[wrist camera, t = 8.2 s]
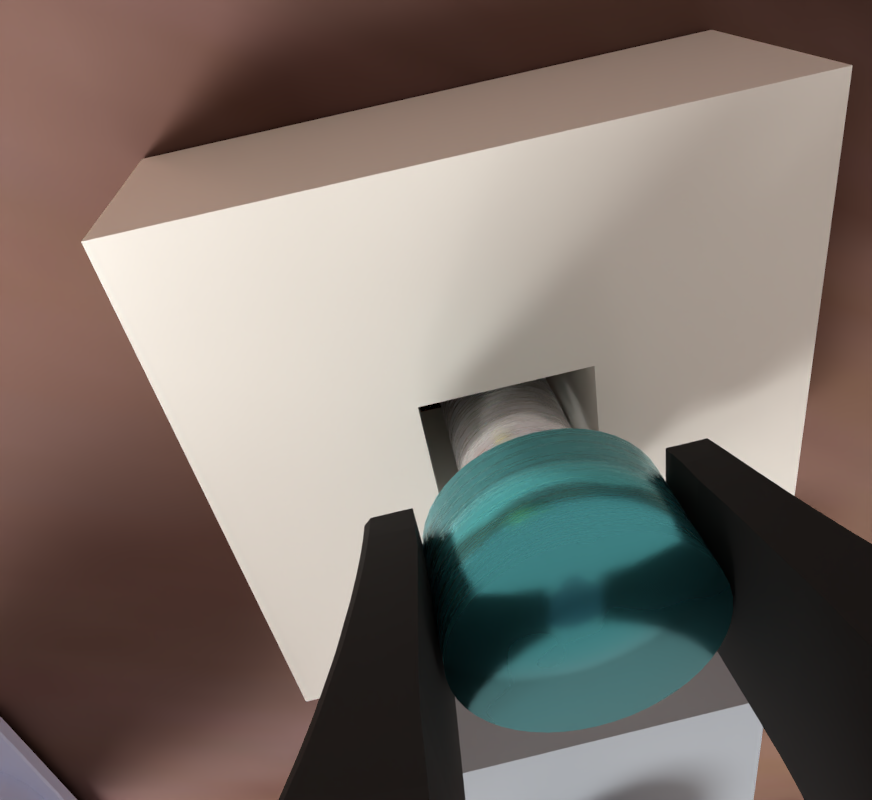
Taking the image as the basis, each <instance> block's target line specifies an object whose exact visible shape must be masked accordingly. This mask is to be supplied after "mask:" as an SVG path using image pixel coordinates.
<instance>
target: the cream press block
mask: <svg viewBox="0 0 872 800" xmlns="http://www.w3.org/2000/svg"><path fill="white" fill-rule="evenodd" d="M852 66H853V65H850V64H846V63H842V62H838V61H834V60H830V59H826V58H822V57H818V56H814V55H810V54H806V53H802V52H798V51H794V50H790V49H786V48H782V47H778V46H774V45H770V44H766V43H763V42H759V41H755V40H751V39H747V38H743V37H739V36H735V35H731V34H727V33H723V32H719V31H715V30H708V31H704V32H699V33H695V34H690V35H686V36H682V37H677V38H673V39H668V40H664V41H660V42H655V43H651V44H646V45H642V46H638V47H633V48H629V49H624V50H620V51H616V52H611V53H607V54H602V55H598V56H594V57H589V58H585V59H580V60H576V61H572V62H567V63H563V64H558V65H554V66H550V67H545V68H541V69H536V70H532V71H528V72H523V73H519V74H514V75H510V76H506V77H501V78H497V79H492V80H488V81H483V82H479V83H475V84H470V85H466V86H461V87H457V88H453V89H448V90H444V91H439V92H435V93H431V94H426V95H422V96H417V97H413V98H409V99H404V100H400V101H395V102H391V103H387V104H382V105H378V106H373V107H369V108H365V109H360V110H356V111H351V112H347V113H343V114H338V115H334V116H329V117H325V118H321V119H316V120H312V121H307V122H303V123H299V124H294V125H290V126H285V127H281V128H276V129H272V130H268V131H263V132H259V133H254V134H250V135H246V136H241V137H237V138H232V139H228V140H224V141H219V142H215V143H210V144H206V145H202V146H197V147H193V148H188V149H184V150H180V151H175V152H171V153H166V154H162V155H158V156H153V157H149V158H144V159H142V160H141V161H140V163H139V164H138V165H137V167H136V168H135V169H134V171H133V172H132V173H131V175H130V176H129V178H128V179H127V180H126V182H125V183H124V184H123V186H122V187H121V188H120V190H119V191H118V192H117V194H116V195H115V197H114V198H113V199H112V201H111V202H110V203H109V205H108V206H107V207H106V209H105V210H104V211H103V213H102V214H101V216H100V217H99V218H98V220H97V221H96V222H95V224H94V225H93V226H92V228H91V229H90V230H89V232H88V233H87V235H86V236H85V237H84V239H83V240H82V241H81V242H82V245H83V247H84V249H85V251H86V253H87V255H88V257H89V259H90V261H91V263H92V265H93V267H94V269H95V271H96V273H97V275H98V277H99V279H100V281H101V283H102V285H103V287H104V290H105V292H106V294H107V296H108V298H109V300H110V302H111V304H112V306H113V308H114V310H115V312H116V314H117V316H118V318H119V320H120V322H121V324H122V326H123V328H124V330H125V332H126V334H127V337H128V339H129V341H130V343H131V345H132V347H133V349H134V351H135V353H136V355H137V357H138V359H139V361H140V363H141V365H142V367H143V369H144V371H145V373H146V375H147V377H148V379H149V382H150V384H151V386H152V388H153V390H154V392H155V394H156V396H157V398H158V400H159V402H160V404H161V406H162V408H163V410H164V412H165V414H166V416H167V418H168V420H169V422H170V424H171V427H172V429H173V431H174V433H175V435H176V437H177V439H178V441H179V443H180V445H181V447H182V449H183V451H184V453H185V455H186V457H187V459H188V461H189V463H190V465H191V467H192V469H193V471H194V474H195V476H196V478H197V480H198V482H199V484H200V486H201V488H202V490H203V492H204V494H205V496H206V498H207V500H208V502H209V504H210V506H211V508H212V510H213V512H214V514H215V516H216V519H217V521H218V523H219V525H220V527H221V529H222V531H223V533H224V535H225V537H226V539H227V541H228V543H229V545H230V547H231V549H232V551H233V553H234V555H235V557H236V559H237V561H238V564H239V566H240V568H241V570H242V572H243V574H244V576H245V578H246V580H247V582H248V584H249V586H250V588H251V590H252V592H253V594H254V596H255V598H256V600H257V602H258V604H259V606H260V609H261V611H262V613H263V615H264V617H265V619H266V621H267V623H268V625H269V627H270V629H271V631H272V633H273V635H274V637H275V639H276V641H277V643H278V645H279V647H280V649H281V651H282V653H283V656H284V658H285V660H286V662H287V664H288V666H289V668H290V670H291V672H292V674H293V676H294V678H295V680H296V682H297V684H298V686H299V688H300V690H301V692H302V694H303V696H304V698H305V701H306V702H307V701H311V700H315V699H319V698H320V696H321V693H322V690H323V687H324V684H325V682H326V679H327V676H328V673H329V670H330V667H331V664H332V661H333V658H334V655H335V652H336V649H337V645H338V642H339V638H340V635H341V631H342V628H343V624H344V621H345V617H346V614H347V610H348V607H349V603H350V600H351V595H352V591H353V587H354V583H355V579H356V574H357V570H358V565H359V560H360V554H361V548H362V542H363V535H364V526H365V524H366V523H367V522H368V521H369V519H370V518H372V517H377V516H381V515H385V514H389V513H394V512H398V511H402V510H406V509H411V508H413V511H414V515H415V519H416V522H417V526H418V530H419V533H420V537H421V541H422V544H423V531H424V525H425V521H426V518H427V516H428V513H429V510H430V508H431V506H432V504H433V503H434V501H435V499H436V497H437V496H438V494H439V493H440V491H441V490H442V489H443V487H444V486H445V485H446V484H447V483H448V481H449V480H450V479H451V478H452V477H453V476H454V475H455V474H456V473H457V472H458V468H457V464H456V461H455V457H454V453H453V450H452V446H451V442H450V438H449V435H448V431H447V427H446V424H445V420H444V416H443V413H442V409H441V407H440V408H436V409H431V410H427V411H423V412H421V410H420V407H422V406H426V405H430V404H434V403H439V402H443V401H447V400H451V399H456V398H460V397H464V396H468V395H473V394H477V393H481V392H485V391H490V390H494V389H498V388H502V387H507V386H511V385H515V384H519V383H524V382H528V381H532V380H536V379H541V378H546V380H547V382H548V384H549V386H550V388H551V390H552V392H553V394H554V395H555V397H556V399H557V401H558V403H559V405H560V407H561V409H562V411H563V413H564V415H565V417H566V419H567V420H568V422H569V424H570V426H571V428H574V429H589V430H595V431H601V432H604V433H608V434H611V435H615V436H617V437H619V438H621V439H624V440H626V441H628V442H630V443H631V444H633V445H634V446H636V447H637V448H639V449H640V450H641V451H642V452H643V453H645V454H646V455H647V456H648V457H649V458H650V459H651V461H652V462H653V463H654V465H655V466H656V467H657V469H658V470H659V472H660V474H661V475H662V477H663V478H664V480H665V481H666V448H668V447H673V446H677V445H681V444H685V443H689V442H694V441H698V440H702V439H706V438H708V439H709V440H711V441H713V442H714V443H716V444H717V445H719V446H720V447H722V448H723V449H725V450H726V451H728V452H729V453H731V454H732V455H734V456H735V457H737V458H738V459H740V460H741V461H743V462H744V463H746V464H747V465H748V466H750V467H751V468H753V469H754V470H756V471H757V472H759V473H760V474H762V475H763V476H765V477H766V478H768V479H769V480H771V481H772V482H774V483H775V484H777V485H778V486H780V487H781V488H783V489H785V490H786V491H788V492H789V493H791V494H792V495H795V488H796V480H797V473H798V466H799V458H800V451H801V443H802V436H803V429H804V421H805V414H806V406H807V399H808V392H809V384H810V377H811V369H812V362H813V355H814V347H815V340H816V332H817V325H818V318H819V310H820V303H821V295H822V288H823V281H824V273H825V266H826V258H827V251H828V244H829V236H830V229H831V221H832V214H833V207H834V199H835V192H836V185H837V177H838V170H839V162H840V155H841V148H842V140H843V133H844V125H845V118H846V111H847V103H848V96H849V88H850V81H851V74H852Z"/></svg>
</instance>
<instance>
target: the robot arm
mask: <svg viewBox="0 0 872 800" xmlns="http://www.w3.org/2000/svg"><path fill="white" fill-rule="evenodd" d="M666 483H667V485H668V486H669V488H670V489H671V491H672V492H673V494H674V495H675V497H676V499H677V500H678V502H679V503H680V505H681V506H682V508H683V510H684V511H685V513H686V514H687V516H688V517H689V519H690V520H691V522H692V524H693V525H694V527H695V528H696V530H697V531H698V533H699V535H700V536H701V538H702V539H703V541H704V542H705V544H706V545H707V547H708V549H709V550H710V552H711V553H712V555H713V556H714V558H715V560H716V561H717V563H718V564H719V566H720V567H721V569H722V570H723V572H724V574H725V576H726V578H727V580H728V582H729V584H730V587H731V591H732V596H733V612H732V618H731V623H730V626H729V629H728V631H727V634H726V636H725V638H724V640H723V642H722V644H721V646H720V647H719V649H718V650H717V652H718V653H719V655H720V657H721V658H722V660H723V662H724V663H725V665H726V667H727V668H728V670H729V672H730V673H731V675H732V677H733V678H734V680H735V681H736V683H737V685H738V686H739V688H740V690H741V691H742V693H743V695H744V696H745V698H746V700H747V701H748V703H749V705H750V706H751V708H752V709H753V711H754V713H755V714H756V716H757V718H758V719H759V721H760V723H761V724H762V726H763V728H764V729H765V731H766V733H767V734H768V736H769V738H770V739H771V741H772V742H773V744H774V746H775V747H776V749H777V751H778V752H779V754H780V756H781V757H782V759H783V761H784V763H785V765H786V766H787V768H788V770H789V772H790V774H791V775H792V777H793V779H794V781H795V783H796V784H797V786H798V788H799V790H800V792H801V794H802V796H803V798H804V800H872V544H871V543H869V542H867V541H866V540H864V539H862V538H861V537H859V536H857V535H856V534H854V533H852V532H851V531H849V530H847V529H846V528H844V527H843V526H841V525H839V524H838V523H836V522H835V521H833V520H831V519H830V518H828V517H827V516H825V515H823V514H822V513H820V512H819V511H817V510H815V509H814V508H812V507H811V506H809V505H807V504H806V503H804V502H803V501H801V500H800V499H798V498H797V497H795V496H794V495H792V494H791V493H789V492H788V491H786V490H785V489H783V488H781V487H780V486H778V485H777V484H775V483H774V482H772V481H771V480H769V479H768V478H766V477H765V476H763V475H762V474H760V473H759V472H757V471H756V470H754V469H753V468H751V467H750V466H748V465H747V464H746V463H744V462H743V461H741V460H740V459H738V458H737V457H735V456H734V455H732V454H731V453H729V452H728V451H726V450H725V449H723V448H722V447H720V446H719V445H717V444H716V443H714V442H713V441H711V440H709V439H708V438H706V439H702V440H698V441H694V442H689V443H685V444H681V445H677V446H673V447H668V448H666ZM0 800H77V799H76V798H75V797H74V796H73V795H72V794H71V792H70V791H69V790H68V789H67V788H66V787H65V786H64V785H63V784H62V783H61V782H60V781H59V779H58V778H57V777H56V776H55V775H54V774H53V773H52V772H51V771H50V770H49V769H48V768H47V766H46V765H45V764H44V763H43V762H42V761H41V760H40V759H39V758H38V757H37V756H36V755H35V753H34V752H33V751H32V750H31V749H30V748H29V747H28V746H27V745H26V744H25V743H24V741H23V740H22V739H21V738H20V737H19V736H18V735H17V734H16V733H15V732H14V731H13V730H12V728H11V727H10V726H9V725H8V724H7V723H6V722H5V721H4V720H3V719H2V718H1V717H0ZM279 800H465V790H464V780H463V771H462V761H461V751H460V741H459V731H458V722H457V712H456V702H455V696H454V694H453V693H452V691H451V690H450V687H449V685H448V682H447V680H446V676H445V670H444V664H443V659H442V653H441V648H440V642H439V636H438V631H437V625H436V620H435V614H434V608H433V600H432V595H431V589H430V583H429V578H428V572H427V567H426V561H425V555H424V550H423V544H422V541H421V537H420V533H419V530H418V526H417V522H416V519H415V515H414V511H413V508H411V509H406V510H402V511H398V512H394V513H389V514H385V515H381V516H377V517H372V518H370V519H369V521H368V522H367V523H366V524H365V526H364V535H363V542H362V548H361V554H360V560H359V565H358V570H357V574H356V579H355V583H354V587H353V591H352V595H351V600H350V603H349V607H348V610H347V614H346V617H345V621H344V624H343V628H342V631H341V635H340V638H339V642H338V645H337V649H336V652H335V655H334V658H333V661H332V664H331V667H330V670H329V673H328V676H327V679H326V682H325V684H324V687H323V690H322V693H321V696H320V699H319V701H318V704H317V707H316V710H315V713H314V716H313V718H312V721H311V724H310V726H309V729H308V731H307V734H306V736H305V739H304V741H303V744H302V746H301V749H300V751H299V754H298V756H297V759H296V761H295V763H294V766H293V768H292V770H291V773H290V775H289V777H288V779H287V782H286V784H285V786H284V789H283V791H282V793H281V795H280V798H279Z"/></svg>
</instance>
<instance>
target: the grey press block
mask: <svg viewBox="0 0 872 800" xmlns="http://www.w3.org/2000/svg"><path fill="white" fill-rule="evenodd" d="M455 702H456V712H457V722H458V731H459V741H460V751H461V761H462V771H463V780H464V790H465V800H753V799H754V791H755V784H756V776H757V769H758V762H759V754H760V747H761V739H762V732H763V726H762V724H761V723H760V721H759V719H758V718H757V716H756V714H755V713H754V711H753V709H752V708H751V706H750V705H749V703H748V701H747V700H746V698H745V696H744V695H743V693H742V691H741V690H740V688H739V686H738V685H737V683H736V681H735V680H734V678H733V677H732V675H731V673H730V672H729V670H728V668H727V667H726V665H725V663H724V662H723V660H722V658H721V657H720V655H719V653H718V652H716V653H715V654H714V656H713V657H712V659H711V660H710V661H709V662H708V663H707V664H706V665H705V666H704V668H703V669H702V670H701V671H700V672H699V673H698V674H697V675H695V676H694V677H693V678H692V679H691V680H690V681H689V682H688V683H686V684H685V685H684V686H682V687H681V688H680V689H678V690H677V691H676V692H674V693H673V694H671V695H669V696H668V697H666V698H665V699H663V700H662V701H660V702H658V703H656V704H654V705H652V706H650V707H649V708H647V709H644V710H642V711H640V712H638V713H635V714H633V715H631V716H628V717H625V718H623V719H620V720H617V721H614V722H611V723H607V724H604V725H600V726H596V727H591V728H586V729H581V730H574V731H566V732H549V733H546V732H527V731H519V730H514V729H509V728H505V727H501V726H498V725H495V724H493V723H490V722H487V721H485V720H483V719H481V718H480V717H478V716H476V715H474V714H473V713H472V712H470V711H469V710H467V709H466V708H465V707H464V706H463V705H462V704H461V703H460V702H459V701H458V700H457V699H456V697H455Z"/></svg>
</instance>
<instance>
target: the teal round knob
mask: <svg viewBox="0 0 872 800" xmlns="http://www.w3.org/2000/svg"><path fill="white" fill-rule="evenodd" d="M440 405H441V409H442V413H443V416H444V420H445V424H446V427H447V431H448V435H449V438H450V442H451V446H452V450H453V453H454V457H455V461H456V464H457V468H458V472H457V473H456V474H455V475H454V476H453V477H452V478H451V479H450V480H449V481H448V483H447V484H446V485H445V486H444V487H443V489H442V490H441V491H440V493H439V494H438V496H437V497H436V499H435V501H434V503H433V504H432V506H431V508H430V510H429V513H428V516H427V518H426V521H425V525H424V531H423V550H424V555H425V561H426V567H427V572H428V578H429V583H430V589H431V595H432V600H433V608H434V614H435V620H436V625H437V631H438V636H439V642H440V648H441V653H442V659H443V664H444V670H445V676H446V680H447V682H448V685H449V687H450V690H451V691H452V693H453V694H454V696H455V697H456V699H457V700H458V701H459V702H460V703H461V704H462V705H463V706H464V707H465V708H466V709H467V710H469V711H470V712H472V713H473V714H474V715H476V716H478V717H480V718H481V719H483V720H485V721H487V722H490V723H493V724H495V725H498V726H501V727H505V728H509V729H514V730H519V731H527V732H546V733H549V732H566V731H574V730H581V729H586V728H591V727H596V726H600V725H604V724H607V723H611V722H614V721H617V720H620V719H623V718H625V717H628V716H631V715H633V714H635V713H638V712H640V711H642V710H644V709H647V708H649V707H650V706H652V705H654V704H656V703H658V702H660V701H662V700H663V699H665V698H666V697H668V696H669V695H671V694H673V693H674V692H676V691H677V690H678V689H680V688H681V687H682V686H684V685H685V684H686V683H688V682H689V681H690V680H691V679H692V678H693V677H694V676H695V675H697V674H698V673H699V672H700V671H701V670H702V669H703V668H704V666H705V665H706V664H707V663H708V662H709V661H710V660H711V659H712V657H713V656H714V654H715V653H716V652H717V650H718V649H719V647H720V646H721V644H722V642H723V640H724V638H725V636H726V634H727V631H728V629H729V626H730V623H731V618H732V612H733V596H732V591H731V587H730V584H729V582H728V580H727V578H726V576H725V574H724V572H723V570H722V569H721V567H720V566H719V564H718V563H717V561H716V560H715V558H714V556H713V555H712V553H711V552H710V550H709V549H708V547H707V545H706V544H705V542H704V541H703V539H702V538H701V536H700V535H699V533H698V531H697V530H696V528H695V527H694V525H693V524H692V522H691V520H690V519H689V517H688V516H687V514H686V513H685V511H684V510H683V508H682V506H681V505H680V503H679V502H678V500H677V499H676V497H675V495H674V494H673V492H672V491H671V489H670V488H669V486H668V485H667V483H666V481H665V480H664V478H663V477H662V475H661V474H660V472H659V470H658V469H657V467H656V466H655V465H654V463H653V462H652V461H651V459H650V458H649V457H648V456H647V455H646V454H645V453H643V452H642V451H641V450H640V449H639V448H637V447H636V446H634V445H633V444H631V443H630V442H628V441H626V440H624V439H621V438H619V437H617V436H615V435H611V434H608V433H604V432H601V431H595V430H589V429H574V428H571V426H570V424H569V422H568V420H567V419H566V417H565V415H564V413H563V411H562V409H561V407H560V405H559V403H558V401H557V399H556V397H555V395H554V394H553V392H552V390H551V388H550V386H549V384H548V382H547V380H546V378H541V379H536V380H532V381H528V382H524V383H519V384H515V385H511V386H507V387H502V388H498V389H494V390H490V391H485V392H481V393H477V394H473V395H468V396H464V397H460V398H456V399H451V400H447V401H443V402H440Z"/></svg>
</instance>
